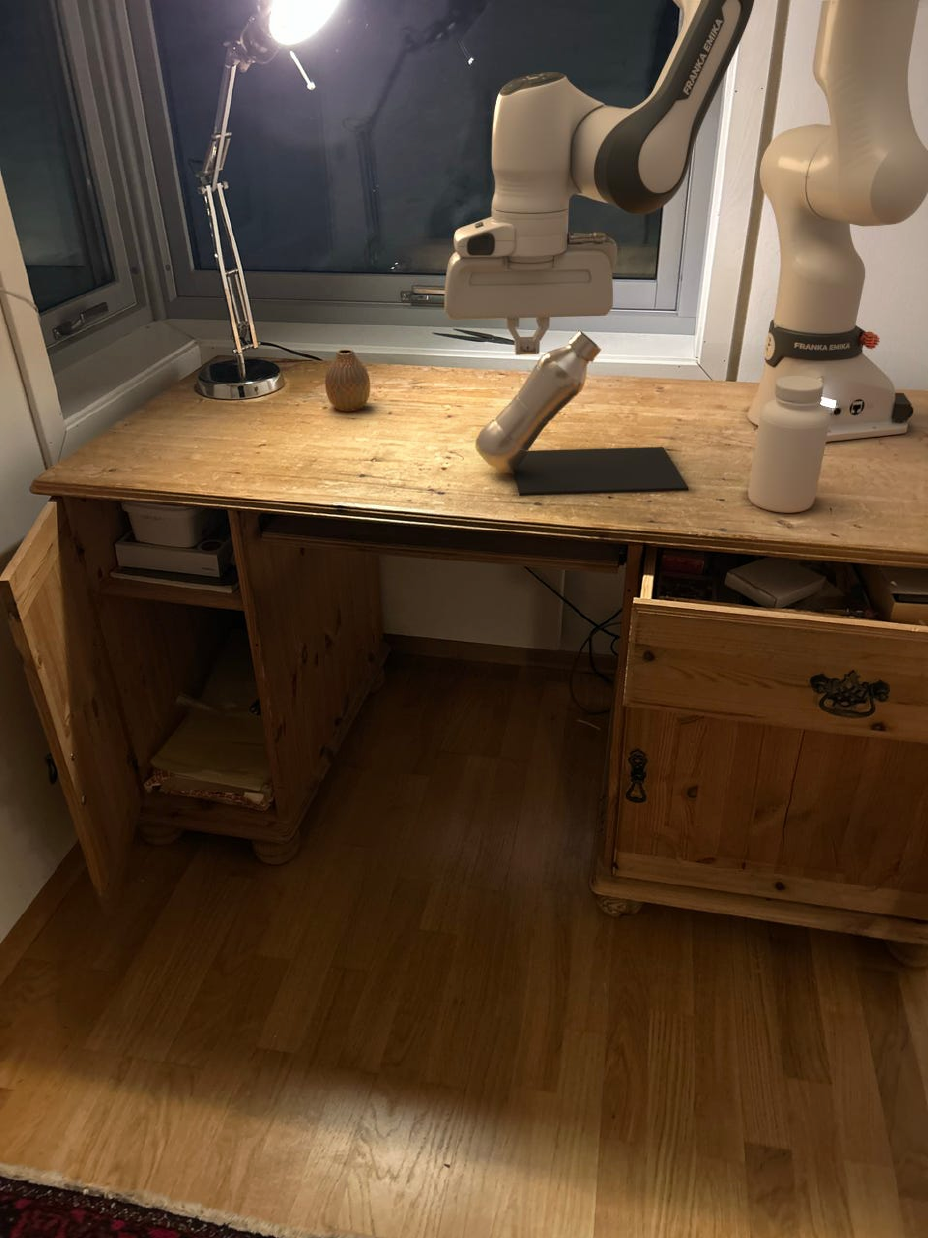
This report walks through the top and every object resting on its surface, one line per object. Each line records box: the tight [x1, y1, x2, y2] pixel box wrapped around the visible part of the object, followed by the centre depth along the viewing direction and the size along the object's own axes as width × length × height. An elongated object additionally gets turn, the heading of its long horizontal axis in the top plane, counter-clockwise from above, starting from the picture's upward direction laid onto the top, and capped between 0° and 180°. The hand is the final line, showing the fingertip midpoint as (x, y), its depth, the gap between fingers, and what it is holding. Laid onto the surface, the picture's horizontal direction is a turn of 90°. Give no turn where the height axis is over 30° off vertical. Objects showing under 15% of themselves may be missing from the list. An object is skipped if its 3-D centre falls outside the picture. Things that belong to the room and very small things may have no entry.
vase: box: [324, 348, 371, 412], centre depth 147 cm, size 7×7×9 cm
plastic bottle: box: [474, 330, 602, 474], centre depth 122 cm, size 6×7×20 cm
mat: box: [512, 446, 689, 496], centre depth 127 cm, size 22×14×1 cm, turn 93°
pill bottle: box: [747, 376, 830, 514], centre depth 114 cm, size 8×8×15 cm
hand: (526, 353), depth 118 cm, fingers closed
